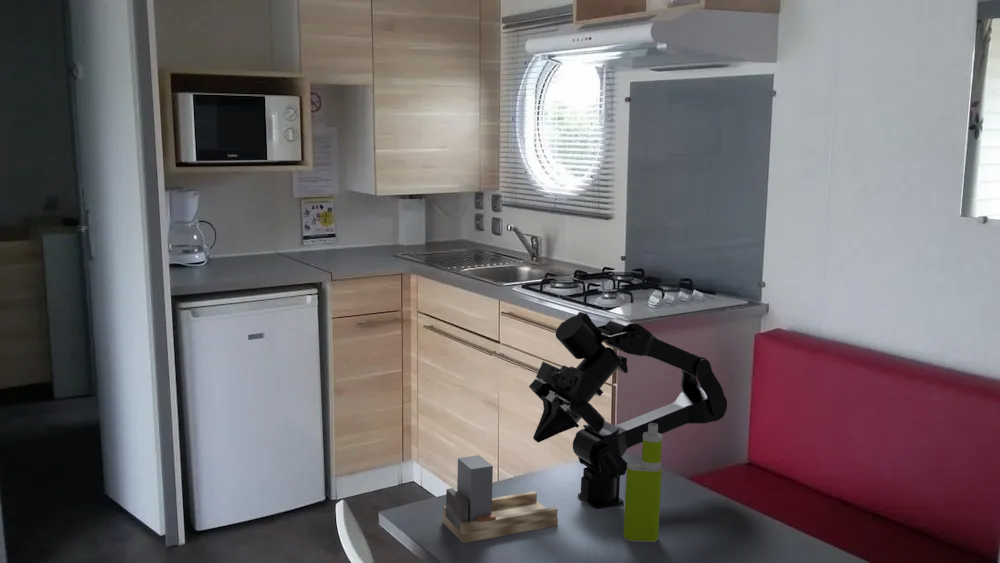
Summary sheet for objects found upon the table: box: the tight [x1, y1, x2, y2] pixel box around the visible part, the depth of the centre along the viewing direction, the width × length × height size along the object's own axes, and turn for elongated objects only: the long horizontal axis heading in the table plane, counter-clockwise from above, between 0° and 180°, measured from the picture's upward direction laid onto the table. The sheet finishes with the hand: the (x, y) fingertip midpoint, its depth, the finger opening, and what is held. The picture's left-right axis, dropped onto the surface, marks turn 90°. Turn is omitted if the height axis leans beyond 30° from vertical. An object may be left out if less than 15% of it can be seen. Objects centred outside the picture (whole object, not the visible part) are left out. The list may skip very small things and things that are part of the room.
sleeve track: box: [442, 487, 559, 544], centre depth 153 cm, size 18×9×6 cm, turn 116°
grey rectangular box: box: [456, 454, 494, 522], centre depth 151 cm, size 4×6×10 cm
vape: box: [623, 423, 663, 543], centre depth 149 cm, size 4×6×20 cm, turn 88°
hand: (535, 440), depth 157 cm, fingers closed
